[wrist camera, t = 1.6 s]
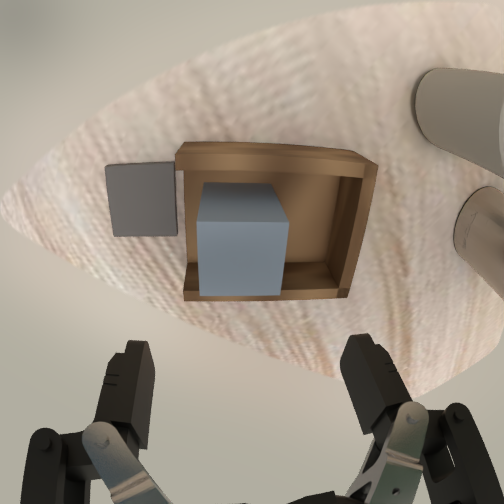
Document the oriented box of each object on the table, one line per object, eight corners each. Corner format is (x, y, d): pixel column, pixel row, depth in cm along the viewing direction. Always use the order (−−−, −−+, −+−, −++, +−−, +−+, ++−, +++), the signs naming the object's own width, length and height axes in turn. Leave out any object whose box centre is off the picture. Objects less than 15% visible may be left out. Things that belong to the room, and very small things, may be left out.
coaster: (174, 161, 21) (173, 163, 21) (177, 232, 24) (176, 236, 24) (107, 165, 21) (104, 166, 20) (115, 233, 24) (113, 236, 23)
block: (270, 183, 22) (289, 222, 16) (265, 241, 25) (280, 295, 19) (203, 182, 22) (196, 221, 16) (204, 241, 24) (199, 296, 18)
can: (435, 162, 23) (530, 218, 13) (394, 96, 20) (505, 121, 10) (477, 118, 21) (572, 155, 10) (443, 53, 18) (550, 62, 7)
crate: (352, 150, 22) (378, 165, 18) (331, 267, 28) (347, 297, 24) (184, 142, 21) (175, 154, 17) (188, 268, 26) (184, 301, 22)
